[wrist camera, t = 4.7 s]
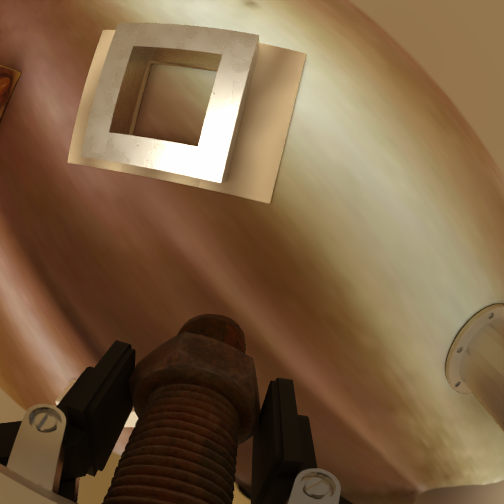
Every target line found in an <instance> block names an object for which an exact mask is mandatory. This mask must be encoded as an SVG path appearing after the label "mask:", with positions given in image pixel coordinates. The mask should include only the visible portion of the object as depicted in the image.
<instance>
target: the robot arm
mask: <svg viewBox="0 0 504 504" xmlns="http://www.w3.org/2000/svg"><path fill="white" fill-rule="evenodd" d="M134 369H135V350H134V349H131V345H130V344H127V343H124V342H121V341H115V342H114V343H113V345H112V346H111V347H110V348H109V350H108V351H107V352H106V353H105V355H104V356H103V357H102V359H101V360H100V361H99V362H98V364H97V365H96V366H95V368H93V367H87V368H86V369H85V371H84V372H83V373H82V374H81V376H80V377H79V378H78V379H77V381H76V382H75V383H74V384H73V386H72V387H71V388H70V389H69V391H68V392H67V393H66V395H65V396H64V397H63V398H62V400H61V401H60V402H59V404H58V405H57V406H56V407H55V406H52V405H49V404H38V405H35V406H32V407H31V408H29V409H28V410H27V412H26V413H25V415H24V418H23V420H22V421H17V422H9V423H0V504H78V503H77V500H78V490H79V480H80V477H82V476H86V474H89V475H92V476H95V475H96V473H97V471H98V470H100V471H102V470H103V469H104V467H105V465H106V463H107V461H108V459H109V456H110V455H111V452H112V450H113V448H114V446H115V444H116V442H117V440H118V438H119V436H120V434H121V432H122V430H123V428H124V426H125V424H126V421H127V419H128V417H129V415H130V413H131V411H132V409H133V404H132V400H131V397H130V391H129V385H128V379H129V378H130V376H131V374H132V372H133V371H134ZM446 377H447V380H448V382H449V384H450V385H451V386H452V388H453V389H454V390H456V391H457V392H459V393H463V394H469V393H473V394H474V395H475V396H476V397H477V399H478V400H479V401H480V402H481V404H482V405H483V406H484V407H485V409H486V410H487V411H488V412H489V414H490V415H491V416H492V417H493V419H494V420H495V421H496V423H497V424H498V425H499V426H500V428H501V429H502V430H503V432H504V304H495V305H492V306H489V307H487V308H485V309H483V310H481V311H480V312H479V313H477V314H476V315H475V316H474V317H473V318H472V319H471V320H470V321H469V322H467V324H466V325H465V326H464V327H463V329H462V330H461V331H460V333H459V334H458V336H457V337H456V339H455V341H454V343H453V345H452V347H451V349H450V352H449V354H448V357H447V362H446ZM251 504H352V503H351V502H349V501H348V500H346V499H345V498H343V497H342V496H340V484H339V481H338V479H337V478H336V477H335V476H334V475H333V474H331V473H329V472H328V471H325V470H322V469H317V464H316V458H315V452H314V446H313V440H312V434H311V428H310V423H309V418H308V417H307V416H303V415H298V414H297V407H296V399H295V392H294V385H293V380H290V379H283V378H277V379H276V381H270V384H269V387H268V390H267V393H266V396H265V400H264V403H263V406H262V409H261V412H260V428H259V431H258V432H257V433H255V434H254V435H253V455H252V485H251Z"/></svg>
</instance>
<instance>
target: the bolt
mask: <svg viewBox="0 0 504 504" xmlns="http://www.w3.org/2000/svg"><path fill="white" fill-rule="evenodd" d="M244 339H245V337H244V333H243V331H242V330H241V328H240V327H239V325H238V324H237V323H236V322H235V321H233V320H232V319H230V318H228V317H225V316H222V315H215V314H204V315H199V316H196V317H194V318H192V319H190V320H189V321H188V322H186V323H185V324H184V326H183V327H182V328H181V329H180V331H179V333H178V335H177V336H175V337H173V338H172V339H170V340H168V341H167V342H165V343H163V344H162V345H160V346H159V347H158V348H156V349H155V350H153V351H152V352H151V353H149V354H148V355H147V356H146V357H145V358H143V359H142V360H141V361H140V362H139V363H137V365H136V367H135V369H134V371H133V372H132V374H131V376H130V378H129V379H128V385H129V391H130V397H131V400H132V404H133V407H134V411H135V413H136V415H137V417H138V420H137V422H136V423H135V427H134V429H133V431H132V434H131V435H130V437H129V442H128V443H127V444H126V447H125V451H124V452H123V453H122V456H121V459H120V460H119V463H118V467H116V470H115V473H114V477H113V478H112V481H111V486H110V487H109V489H108V493H107V495H106V496H105V497H104V501H103V503H102V504H232V501H233V498H234V497H233V496H234V495H233V491H234V482H235V475H234V474H235V473H236V469H235V465H236V457H237V448H238V445H239V444H241V443H243V442H245V441H246V440H248V439H249V438H250V437H251V436H253V435H254V434H255V433H257V432H258V431H259V428H260V402H259V392H258V385H257V378H256V372H255V366H254V361H253V358H251V357H249V356H248V355H246V354H245V350H246V348H245V346H246V344H245V340H244Z"/></svg>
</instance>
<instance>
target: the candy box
mask: <svg viewBox="0 0 504 504" xmlns="http://www.w3.org/2000/svg"><path fill="white" fill-rule="evenodd" d="M20 75H21V72H18V71H16V70H13V69H10V68H8V67H5V66H2V65H0V119H1V117H2V114H3V112H4V109H5V107H6V104H7V102H8V100H9V98H10V95H11V93H12V91H13V89H14V87H15V84H16V82H17V80H18V79H19V76H20Z"/></svg>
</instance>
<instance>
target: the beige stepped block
mask: <svg viewBox="0 0 504 504" xmlns="http://www.w3.org/2000/svg"><path fill="white" fill-rule="evenodd" d="M76 381H77V380H72V381H71V382H70V383H69V385H68V386H67V387H66V388H65V390H64V391H63V392H62V393H61V394H60V396H59V397H58V398H57V399H56V401H55V402H56V404H57V405H58V404H59V402H60V401H61V400H62V398H63V397H64V396H65V395H66V393H67V392H68V391H69V389H70V388H71V387H72V386H73V384H74V383H75V382H76ZM137 420H138V417H137V415H136V413H135V411H134V407H133V409H132V411H131V413H130V415H129V417H128V419H127V421H126V424H125V426H124V427H135V423H136V422H137Z"/></svg>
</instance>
